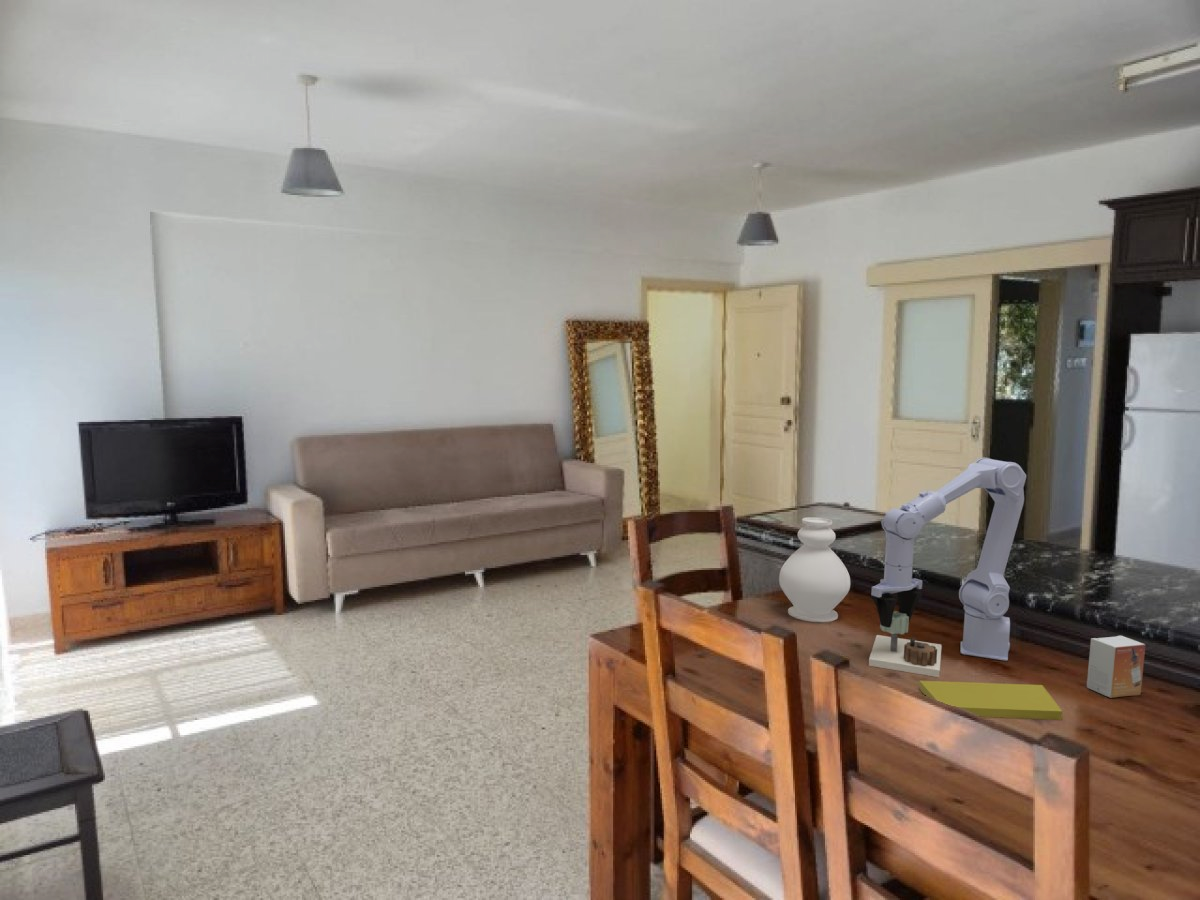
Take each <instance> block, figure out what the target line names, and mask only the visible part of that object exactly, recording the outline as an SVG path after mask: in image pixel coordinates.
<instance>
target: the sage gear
mask: <svg viewBox="0 0 1200 900" xmlns="http://www.w3.org/2000/svg"><path fill="white" fill-rule="evenodd" d="M909 623H910V622H909V617H908V616H907V614H905V613H903V614H902V613H899V611H897V610H896V611H895V610H894V611H893V616H892V623H891V626H890V627H889V628H887V627H885V626H882V625H881V623H880V622H879V629H881V631H883V632H886V633H889V634H891V635H892V634H894V633H895V634H897V635H898V634H899V635H905V633H906V634H907V633H908V632H909Z"/></svg>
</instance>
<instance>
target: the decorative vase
mask: <svg viewBox="0 0 1200 900" xmlns="http://www.w3.org/2000/svg"><path fill="white" fill-rule="evenodd" d="M801 523H802V524H804V526H802V527H801V528H800V529H799V530H798V531H797V538H798V539H799V541H800V542H801V543H802V544H803V545H802V546H800V547H799V548H798V549H796V550H795V551H794V552H793V553H792V554H791V555H790V556H789V557H788V558H787V559H786V561H785V562H784V564H783V565H782V566H781V569H780V571H779V576H778V581H779V587H780V588H781V590H782V592H783V593H784V595H785V596H786V597H787V598H788V599H787V600H789V602H790V603H791V604H792V605H793V606H790V607H789V608H788V609H787V613H788V615H789V616H791V617H792V618H795V619H797V620H801V621H803V622H804V621H806V622H813V623H828V622H833V621H834V622H835V621H836V620H837V619H838V617H839V614H838V612H837V611H835V608H836V606H838V605H839V604H840V603H841V602H842V601H843V600H844V599H845V597H846V596H847V595H848V593H849V591H850V589H851V577H850V574H849V573H850V572H848V569H847V567H846V566H845V564H844V563H843V561H842V560H841V559H840V557H839V556H838V555H837V554H836V553H835V552H834V551H833V550H832V548H830V547H829V546H830V545H831V544H833V543H834V541H836V532H834V530H832V529H833V528H831V527H829V526H831V525H833V520H832V519H830V518H825V517H817V516H815V517H813V516H811V517H810V516H809V517H808V516H807V517H803V518H802V519H801Z"/></svg>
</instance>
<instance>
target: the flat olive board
mask: <svg viewBox="0 0 1200 900" xmlns="http://www.w3.org/2000/svg"><path fill="white" fill-rule="evenodd" d="M918 689H919V691H920V692H921V693H922V694H923V695H924V696H925V695H926V696H928V697H931V698H933V699H935V700H937V701H940V702H943V703H945V704H948V705H951V706H956V707H959V708H962V709H965V710H967V711H969V712H972V713H974V714H976V715H979V716H981V717H980V718H1000V717H1004V718H1005V719H1006V718H1008V719H1027V720H1028V719H1030V720H1032V719H1033V720H1049V721H1050V720H1053V721H1054V720H1055V721H1061V720H1063V710H1062V709H1061V708H1060V706H1059V705H1058V704H1057V702H1056V701H1055V700H1054V698H1053V697H1052V696H1051V694H1050V693H1049V692H1048V690H1047V689H1046V688H1045V687H1044V685H1042V684H1024V683H1023V684H1021V683H1020V684H1019V683H995V682H994V683H993V682H971V681H970V682H969V681H968V682H967V681H966V682H965V681H945V680H943V681H942V680H939V681H938V680H937V681H936V680H919V682H918ZM926 696H925V697H926ZM993 716H994V717H993ZM1004 718H1003V719H1004Z"/></svg>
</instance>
